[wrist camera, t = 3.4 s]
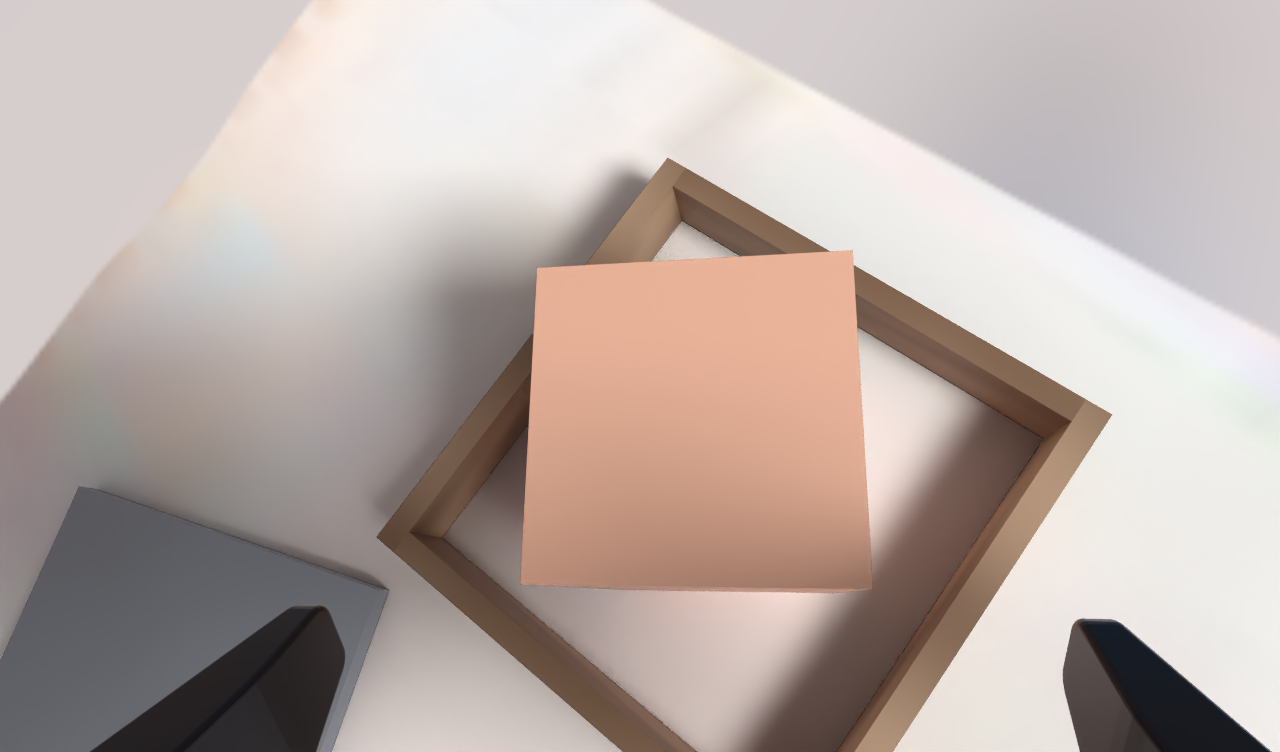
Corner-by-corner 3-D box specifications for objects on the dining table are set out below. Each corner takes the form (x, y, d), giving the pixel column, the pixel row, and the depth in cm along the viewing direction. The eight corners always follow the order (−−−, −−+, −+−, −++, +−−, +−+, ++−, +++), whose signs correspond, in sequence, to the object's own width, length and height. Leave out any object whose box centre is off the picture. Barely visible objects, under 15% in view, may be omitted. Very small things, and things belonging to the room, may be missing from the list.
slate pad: (242, 1002, 19) (225, 1014, 19) (-63, 846, 22) (-86, 852, 21) (388, 590, 21) (377, 589, 21) (96, 489, 24) (79, 486, 23)
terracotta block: (833, 593, 19) (872, 589, 11) (631, 590, 20) (520, 583, 12) (823, 394, 21) (852, 250, 12) (634, 398, 22) (537, 267, 13)
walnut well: (793, 869, 18) (795, 901, 16) (412, 542, 21) (376, 537, 20) (1079, 432, 19) (1112, 414, 17) (677, 193, 23) (667, 157, 21)
